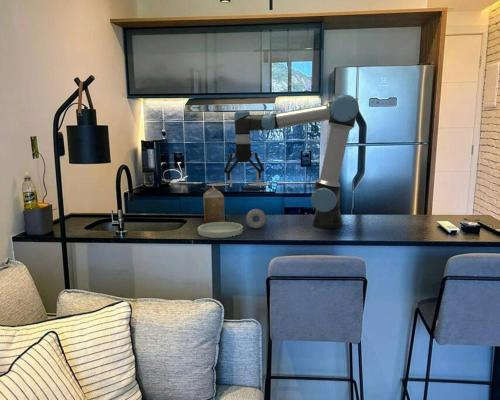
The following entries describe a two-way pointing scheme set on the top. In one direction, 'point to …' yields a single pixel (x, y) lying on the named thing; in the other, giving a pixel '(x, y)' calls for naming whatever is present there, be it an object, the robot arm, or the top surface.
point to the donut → (256, 213)
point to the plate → (220, 229)
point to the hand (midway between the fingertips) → (244, 186)
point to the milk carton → (213, 206)
